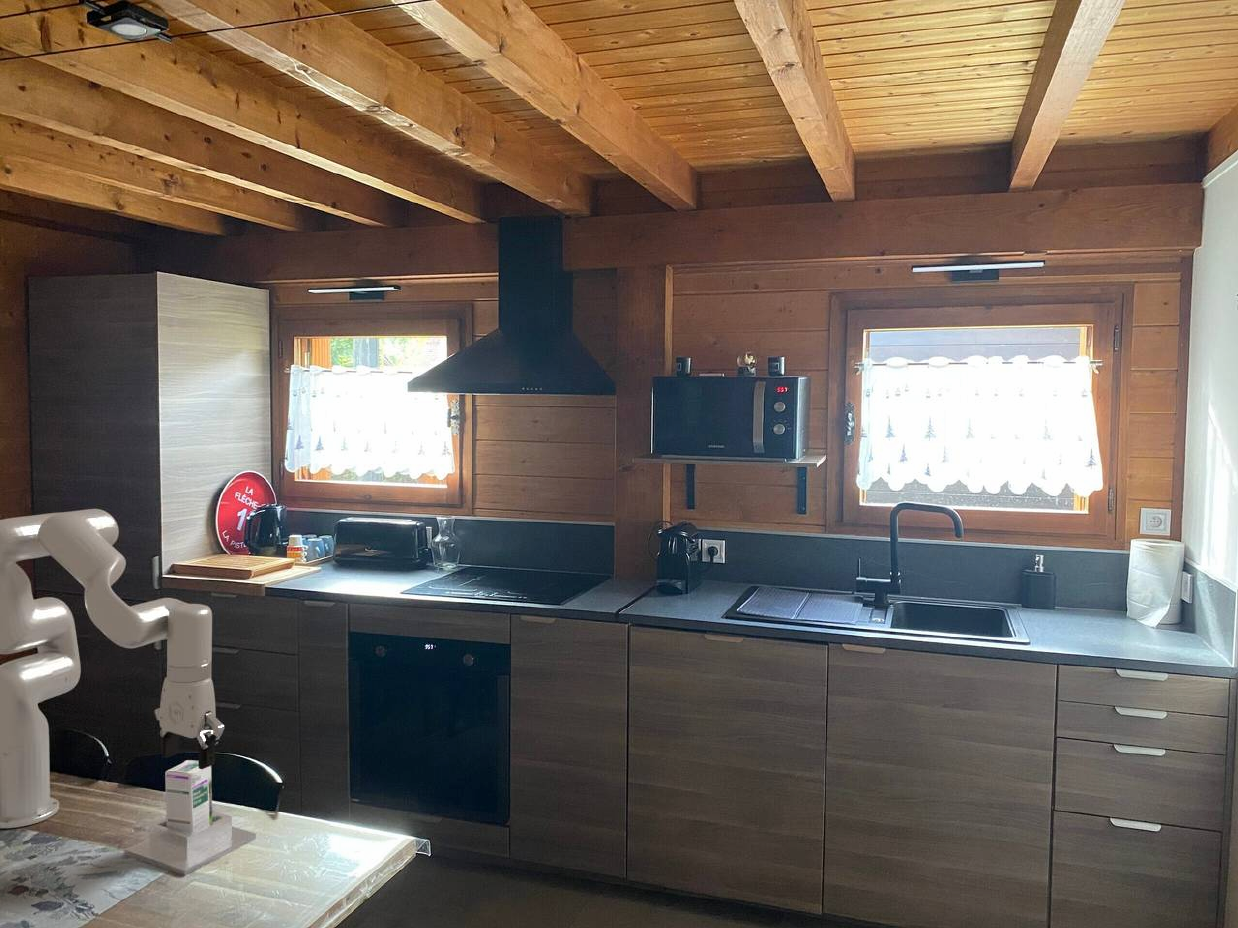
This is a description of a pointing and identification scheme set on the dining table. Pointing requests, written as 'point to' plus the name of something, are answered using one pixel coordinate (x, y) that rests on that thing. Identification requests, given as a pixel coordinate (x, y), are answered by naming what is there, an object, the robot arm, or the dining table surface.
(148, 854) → the sleeve holder
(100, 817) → the dining table surface
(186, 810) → the syrup box
